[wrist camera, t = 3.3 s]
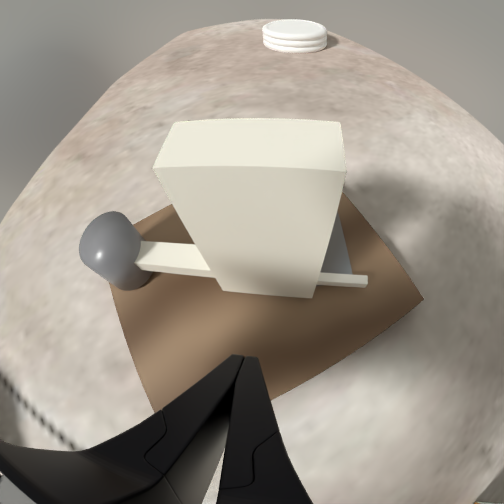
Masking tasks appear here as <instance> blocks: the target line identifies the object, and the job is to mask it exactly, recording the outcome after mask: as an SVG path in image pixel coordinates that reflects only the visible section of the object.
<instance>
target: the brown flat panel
mask: <svg viewBox="0 0 504 504" xmlns="http://www.w3.org/2000/svg"><path fill="white" fill-rule="evenodd" d="M133 226H134V227H135V228H136V230H137V231H138V232H139V233H140V234H141V236H142V237H143V238H144V239H145V240H146V241H150V242H165V243H180V244H195V243H194V241H193V240H192V238H191V236H190V235H189V233H188V231H187V229H186V228H185V226H184V224H183V222H182V221H181V219H180V217H179V215H178V214H177V212H176V210H175V208H174V207H173V205H172V204H171V205H169V206H167V207H165V208H163V209H161V210H160V211H158V212H156V213H154V214H152V215H150V216H148V217H147V218H145V219H143V220H141V221H139V222H137V223H136V224H134V225H133ZM320 272H322V273H336V274H351V275H367V276H368V284H367V286H366V287H365V288H360V287H344V286H328V285H316V288H315V291H314V294H313V297H312V298H298V297H285V296H273V295H261V294H250V293H240V292H230V291H223V290H222V288H221V287H220V285H219V283H218V282H217V280H216V278H212V277H202V276H192V275H182V274H173V273H164V272H155V271H153V273H152V275H151V276H150V278H149V279H148V280H147V281H146V283H144V284H143V285H142V286H141V287H139V288H137V289H134V290H131V291H124V290H120V289H118V288H117V287H115V286H114V285H112V284H111V283H110V282H109V284H110V288H111V291H112V295H113V299H114V303H115V306H116V310H117V313H118V316H119V320H120V323H121V326H122V329H123V333H124V336H125V339H126V342H127V345H128V347H129V350H130V353H131V356H132V359H133V361H134V364H135V367H136V369H137V372H138V375H139V377H140V380H141V382H142V385H143V387H144V390H145V392H146V394H147V397H148V399H149V401H150V404H151V406H152V408H153V410H154V412H155V413H156V412H157V411H159V410H162V408H163V407H164V406H166V405H167V404H168V403H170V402H171V401H172V400H174V399H175V398H177V397H178V396H179V395H181V394H182V393H183V392H185V391H186V390H187V389H188V388H190V387H191V386H192V385H194V384H195V383H196V382H198V381H199V380H200V379H201V378H203V377H204V376H205V375H207V374H208V373H209V372H210V371H212V370H213V369H214V368H215V367H217V366H218V365H219V364H220V363H222V362H223V361H224V360H225V359H227V358H228V357H229V356H230V355H232V354H238V355H244V356H245V357H246V356H253V357H258V359H259V362H260V366H261V369H262V373H263V376H264V380H265V383H266V387H267V390H268V394H269V397H270V400H272V399H274V398H276V397H278V396H280V395H282V394H284V393H286V392H288V391H290V390H291V389H293V388H295V387H297V386H299V385H300V384H302V383H304V382H306V381H308V380H309V379H311V378H313V377H314V376H316V375H318V374H320V373H321V372H323V371H325V370H326V369H328V368H329V367H331V366H333V365H334V364H336V363H338V362H339V361H341V360H342V359H344V358H345V357H347V356H348V355H350V354H351V353H353V352H354V351H356V350H357V349H359V348H360V347H362V346H363V345H365V344H366V343H368V342H369V341H371V340H372V339H373V338H375V337H376V336H378V335H379V334H380V333H382V332H383V331H384V330H386V329H387V328H388V327H390V326H391V325H392V324H394V323H395V322H396V321H398V320H399V319H400V318H402V317H403V316H404V315H405V314H407V313H408V312H409V311H410V310H412V309H413V308H414V307H415V306H417V305H418V304H419V303H420V302H421V301H423V300H424V298H423V297H422V295H421V294H420V292H419V291H418V289H417V288H416V286H415V285H414V283H413V282H412V280H411V279H410V278H409V276H408V275H407V273H406V272H405V270H404V269H403V268H402V266H401V265H400V263H399V262H398V261H397V259H396V258H395V257H394V255H393V254H392V253H391V251H390V250H389V249H388V247H387V246H386V245H385V243H384V242H383V241H382V239H381V238H380V237H379V236H378V234H377V233H376V232H375V230H374V229H373V228H372V227H371V225H370V224H369V223H368V222H367V221H366V219H365V218H364V217H363V216H362V214H361V213H360V212H359V211H358V210H357V208H356V207H355V206H354V205H353V204H352V202H351V201H350V200H349V199H348V198H347V197H346V196H345V194H344V193H343V192H342V194H341V198H340V202H339V206H338V210H337V214H336V218H335V222H334V225H333V229H332V233H331V236H330V240H329V244H328V247H327V251H326V254H325V258H324V261H323V265H322V268H321V271H320Z"/></svg>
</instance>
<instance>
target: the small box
mask: <svg viewBox="0 0 504 504" xmlns="http://www.w3.org/2000/svg"><path fill="white" fill-rule="evenodd" d="M474 504H504V503H486V502H475V503H474Z"/></svg>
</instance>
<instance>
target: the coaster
mask: <svg viewBox="0 0 504 504" xmlns="http://www.w3.org/2000/svg"><path fill="white" fill-rule="evenodd" d="M262 32H263V38H264V40H263V43H264V45H265V46H266V47H267V48H269V49H272V50H275V51H279V52H285V53H312V52H317V51H320V50H322V49H324V48H325V47H326V45H327V42H326V40H327V35H326V34H327V29H326V28H325V27H324V26H322V25H321V24H318V23H316V22H312V21H307V20H295V19H287V20H278V21H273V22H270V23H267V24H266V25H264V26H263V28H262Z"/></svg>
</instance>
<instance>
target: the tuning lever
mask: <svg viewBox="0 0 504 504" xmlns="http://www.w3.org/2000/svg"><path fill="white" fill-rule="evenodd" d="M153 170H154V172H155V174H156V176H157V177H158V179H159V181H160V183H161V185H162V187H163V188H164V190H165V192H166V194H167V196H168V198H169V199H170V201H171V203H172V205H173V207H174V208H175V210H176V212H177V214H178V215H179V217H180V219H181V221H182V222H183V224H184V226H185V228H186V229H187V231H188V233H189V235H190V236H191V238H192V240H193V241H194V243H195V244H180V243H165V242H150V241H146V240H145V239H144V238H143V237H142V236H141V234H140V233H139V232H138V231H137V230H136V228H135V227H134V226H133V225H132V224H131V222H130V221H129V220H128V219H127V217H126V216H125V215H123V214H122V213H120V212H115V211H113V212H107V213H104V214H102V215H100V216H98V217H97V218H95V219H94V220H93V221H92V222H91V223H90V224H89V225H88V227H87V228H86V229H85V231H84V233H83V235H82V237H81V240H80V244H79V254H80V258H81V260H82V261H83V263H84V264H85V265H87V266H88V267H89V268H91V269H92V270H93V271H95V272H96V273H97V274H99V275H100V276H101V277H103V278H104V279H105V280H107V281H108V282H110V283H111V284H112V285H114V286H115V287H117V288H118V289H120V290H124V291H131V290H134V289H137V288H139V287H141V286H142V285H143V284H144V283H146V281H147V280H148V279H149V278H150V276H151V275H152V273H153V271H155V272H164V273H173V274H182V275H192V276H202V277H212V278H216V280H217V282H218V283H219V285H220V287H221V288H222V290H223V291H230V292H240V293H250V294H261V295H273V296H285V297H298V298H312V297H313V294H314V291H315V288H316V285H328V286H344V287H360V288H365V287H366V286H367V284H368V276H367V275H351V274H336V273H322V272H320V271H321V268H322V265H323V261H324V258H325V254H326V251H327V247H328V244H329V240H330V236H331V233H332V229H333V225H334V222H335V218H336V214H337V210H338V206H339V202H340V198H341V194H342V190H343V185H344V181H345V177H346V173H347V170H346V161H345V153H344V145H343V138H342V131H341V124H340V122H332V121H320V120H304V119H281V118H233V119H210V120H195V121H183V122H174V124H173V126H172V128H171V130H170V132H169V134H168V136H167V138H166V140H165V142H164V144H163V146H162V148H161V150H160V152H159V155H158V157H157V159H156V161H155V163H154V166H153Z"/></svg>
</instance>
